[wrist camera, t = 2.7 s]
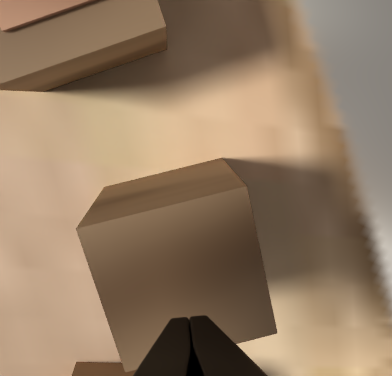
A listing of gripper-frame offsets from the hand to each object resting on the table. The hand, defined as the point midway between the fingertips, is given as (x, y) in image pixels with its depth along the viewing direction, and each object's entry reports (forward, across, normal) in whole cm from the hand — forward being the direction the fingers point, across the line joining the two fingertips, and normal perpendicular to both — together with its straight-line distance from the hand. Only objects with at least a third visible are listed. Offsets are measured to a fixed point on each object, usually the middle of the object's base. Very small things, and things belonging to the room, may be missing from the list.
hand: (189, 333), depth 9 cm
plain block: (+8, 0, 0) cm, 8 cm away
